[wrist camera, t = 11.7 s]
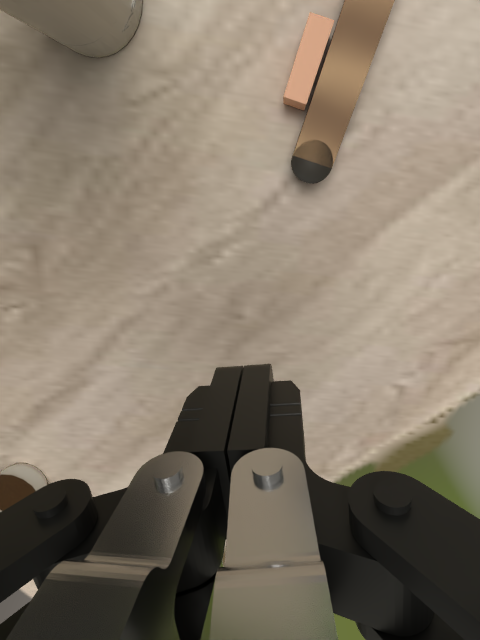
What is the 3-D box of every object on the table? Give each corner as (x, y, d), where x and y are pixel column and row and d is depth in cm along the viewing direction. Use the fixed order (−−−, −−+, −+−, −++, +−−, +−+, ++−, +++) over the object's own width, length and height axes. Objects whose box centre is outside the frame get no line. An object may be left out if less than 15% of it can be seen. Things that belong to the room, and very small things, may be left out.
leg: (395, -153, 29) (411, -199, 26) (439, -137, 29) (462, -181, 26) (286, 175, 38) (286, 175, 35) (320, 186, 38) (323, 188, 35)
